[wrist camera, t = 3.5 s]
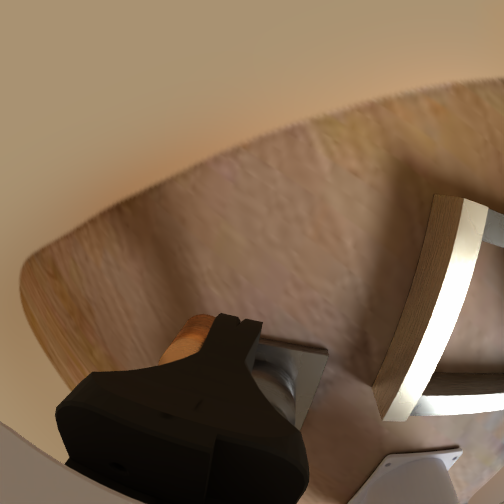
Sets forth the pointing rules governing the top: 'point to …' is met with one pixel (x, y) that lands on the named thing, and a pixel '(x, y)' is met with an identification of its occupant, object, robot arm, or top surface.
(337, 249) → the top surface
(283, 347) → the winch post
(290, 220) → the top surface
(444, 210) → the bay
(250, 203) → the top surface
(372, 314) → the top surface
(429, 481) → the robot arm
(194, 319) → the crank
